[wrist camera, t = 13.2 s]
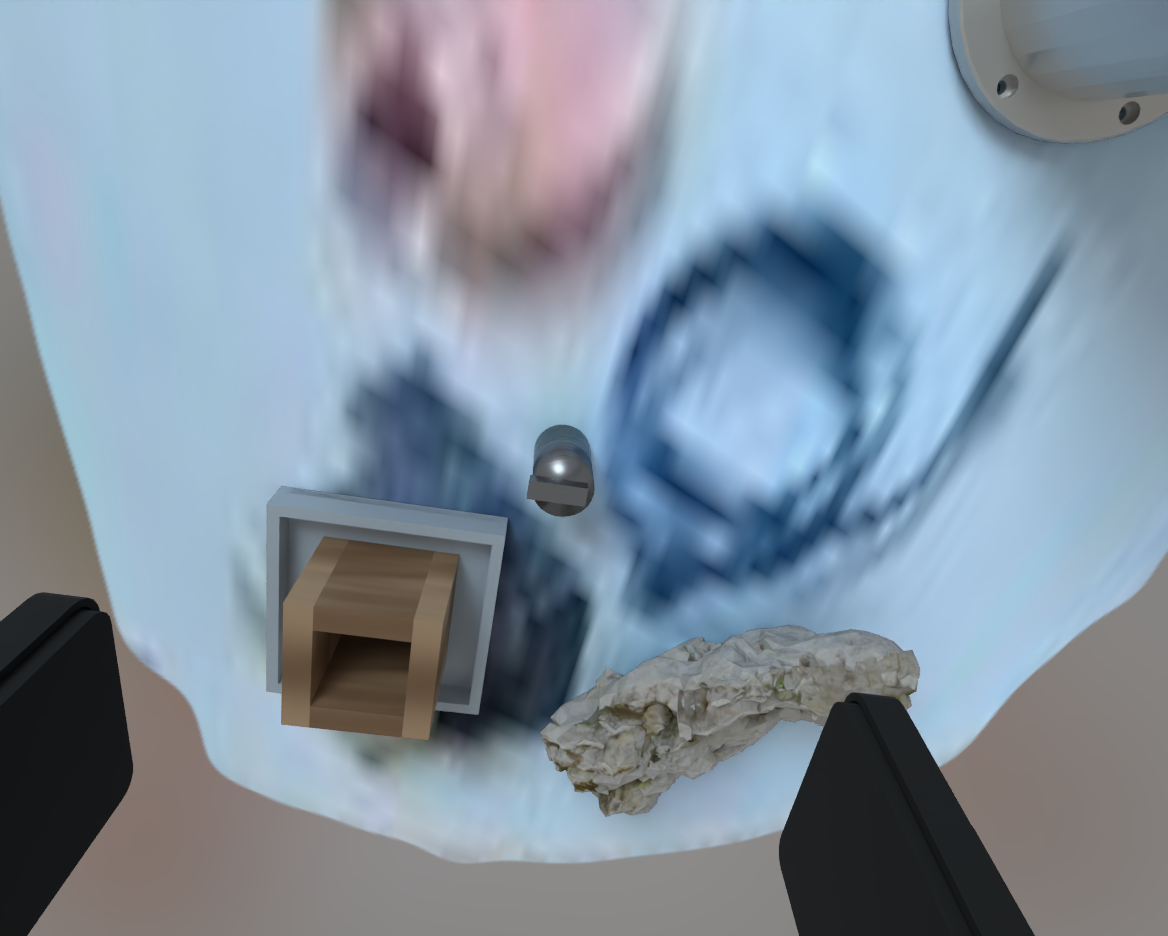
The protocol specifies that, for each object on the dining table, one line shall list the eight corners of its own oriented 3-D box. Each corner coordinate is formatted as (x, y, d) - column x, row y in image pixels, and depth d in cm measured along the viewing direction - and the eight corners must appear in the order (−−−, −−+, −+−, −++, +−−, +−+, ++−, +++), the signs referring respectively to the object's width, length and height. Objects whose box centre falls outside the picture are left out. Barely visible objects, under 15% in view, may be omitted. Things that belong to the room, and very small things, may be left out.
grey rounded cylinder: (594, 429, 36) (600, 470, 31) (584, 479, 37) (588, 526, 32) (536, 420, 35) (533, 460, 31) (527, 471, 36) (523, 517, 32)
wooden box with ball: (323, 536, 37) (283, 602, 31) (459, 554, 37) (442, 622, 32) (318, 665, 40) (280, 746, 34) (443, 680, 41) (425, 761, 35)
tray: (507, 517, 37) (505, 536, 36) (481, 690, 42) (478, 714, 40) (281, 486, 36) (266, 503, 34) (279, 667, 41) (266, 691, 39)
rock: (618, 682, 48) (595, 839, 42) (549, 593, 42) (509, 762, 35) (922, 665, 41) (955, 854, 34) (896, 552, 34) (931, 759, 27)
